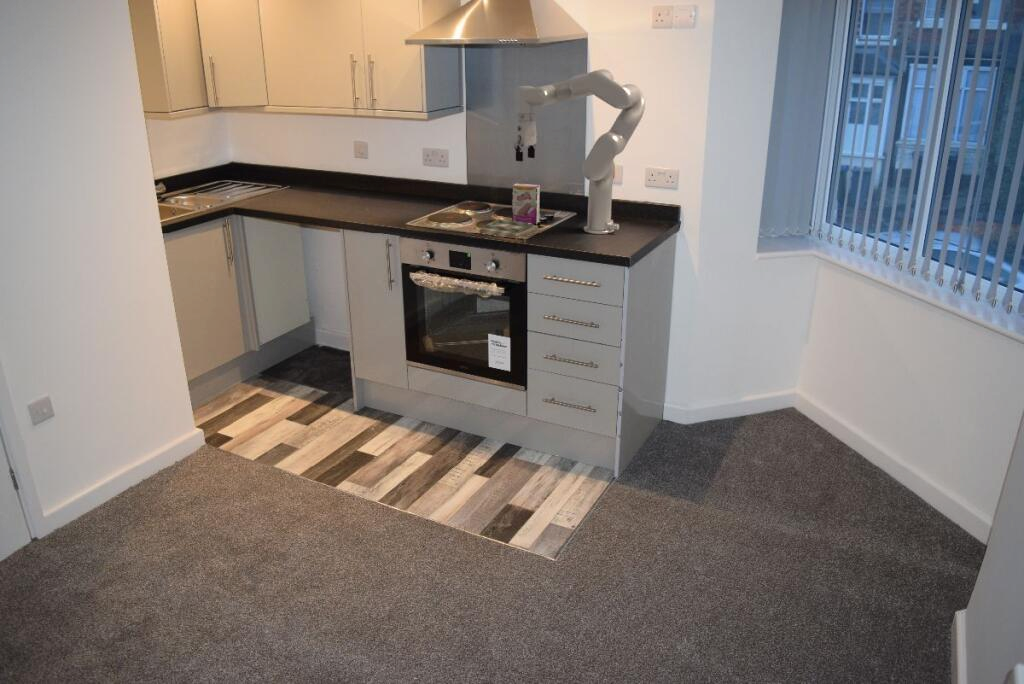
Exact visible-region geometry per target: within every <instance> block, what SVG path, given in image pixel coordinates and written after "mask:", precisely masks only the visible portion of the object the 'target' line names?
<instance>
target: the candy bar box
mask: <svg viewBox="0 0 1024 684" xmlns="http://www.w3.org/2000/svg"><path fill="white" fill-rule="evenodd" d="M540 187H541V186H540V184H531V183H529V184H528V183H514V184H513V185H512V187H511V190H512V191H511V196H512V197H511V204H512V205H511V208H512V209H511V221H514V222H521V223H535V224H536V225H538V224H539V223H540V198H541V197H540V193H541V192H540V191H541V190H540ZM538 222H539V223H538ZM535 224H534V225H535Z"/></svg>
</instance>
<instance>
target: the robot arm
mask: <svg viewBox="0 0 1024 684" xmlns="http://www.w3.org/2000/svg"><path fill="white" fill-rule="evenodd" d="M589 96H594V97H596V98H598V99H600V100H601V101H603V102H604V103H606V104H608V105H609V106H611V107H612V108H614V109H616V110H621V112H620V113H619V114H618V116H617V117H616V119H615V120H614V122H613V124H612V125H611V127H610V129H609V130H608V131H607V132H605V133H603V134H602V135H600V136H599V137H598V138H597V139H596V141H595V142H594V144H593V146H592V147H591V150H590V151H589V154H588V155H587V156H586V158H585V160H584V162H583V164H582V174H583V176H584V178H585V179H587V180H588V181H589V182H588V196H587V197H588V200H587V203H588V204H587V225H585V226H584V227H583V231H584V232H586V233H589V234H592V235H593V234H594V235H604V234H611V233H613V232H614V231H615V230H619V228H620V224H619V223H614V220H613V219H612V200H613V199H612V198H613V183H614V175H615V168H616V167H615V165H616V164H615V160H614V159H615V157H617V156H618V155H620V154H621V153H622V152H623V151H624V150H625V148H626V146H627V145H628V144H629V141H630V139H631V138H632V136H633V134H634V132H635V130H636V129H637V127H638V125H639V123H640V122H641V120H642V118H643V115H644V112H645V110H646V109H645V108H646V101H645V96H644V93H643V92H642V90H641V89H640V88H639V87H638V86H636V85H635V84H631V83H629V84H628V83H627V84H623V85H622V84H620V83H619V82H616V81H615V79H614V75H613V73H612V72H611V71H610V70H608V69H604V68H601V69H597V70H593V71H590V72H587V73H582V74H579V75H575V76H572V77H569V79H566V80H563V81H560V82H559V81H558V82H556V83H552V84H547V85H542V86H538V87H534V86H532V85H520V86H518V87H517V88H516V127H515V139H514V141H513V148H514V151H515V162H521V163H522V162H524V151H523V149H524V148H527V158H529V159H535V157H536V145H537V140H538V135H537V123H536V107H545V106H549V105H552V104H553V105H554V104H556V103H559V102H564V101H567V100H577V99H582V98H585V97H589Z"/></svg>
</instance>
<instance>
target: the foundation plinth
mask: <svg viewBox="0 0 1024 684" xmlns="http://www.w3.org/2000/svg"><path fill="white" fill-rule="evenodd" d="M536 230H538V231H539V225H538V224H536V225H535V224H528V223H521V222H514V221H512V220H506V219H500V218H499V219H497V220H493V221H491V222H488V223H486V224H484V227H481V228H479V232H480V233H485V234H490V235H489V236H491V235H496V236H495V237H498V236H503V237H502V238H504V237H510V238H516V239H515V240H518V239H517V238H519V237H522V236H524V235H526V236H528V235H530V234H529V233H531V234H533V233H535V232H537V231H536ZM534 231H535V232H534ZM532 232H533V233H532ZM480 233H479V234H480ZM485 234H484V235H485ZM527 234H528V235H527ZM524 237H525V236H524ZM510 238H509V239H510ZM522 238H523V237H522ZM519 239H520V238H519Z"/></svg>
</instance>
